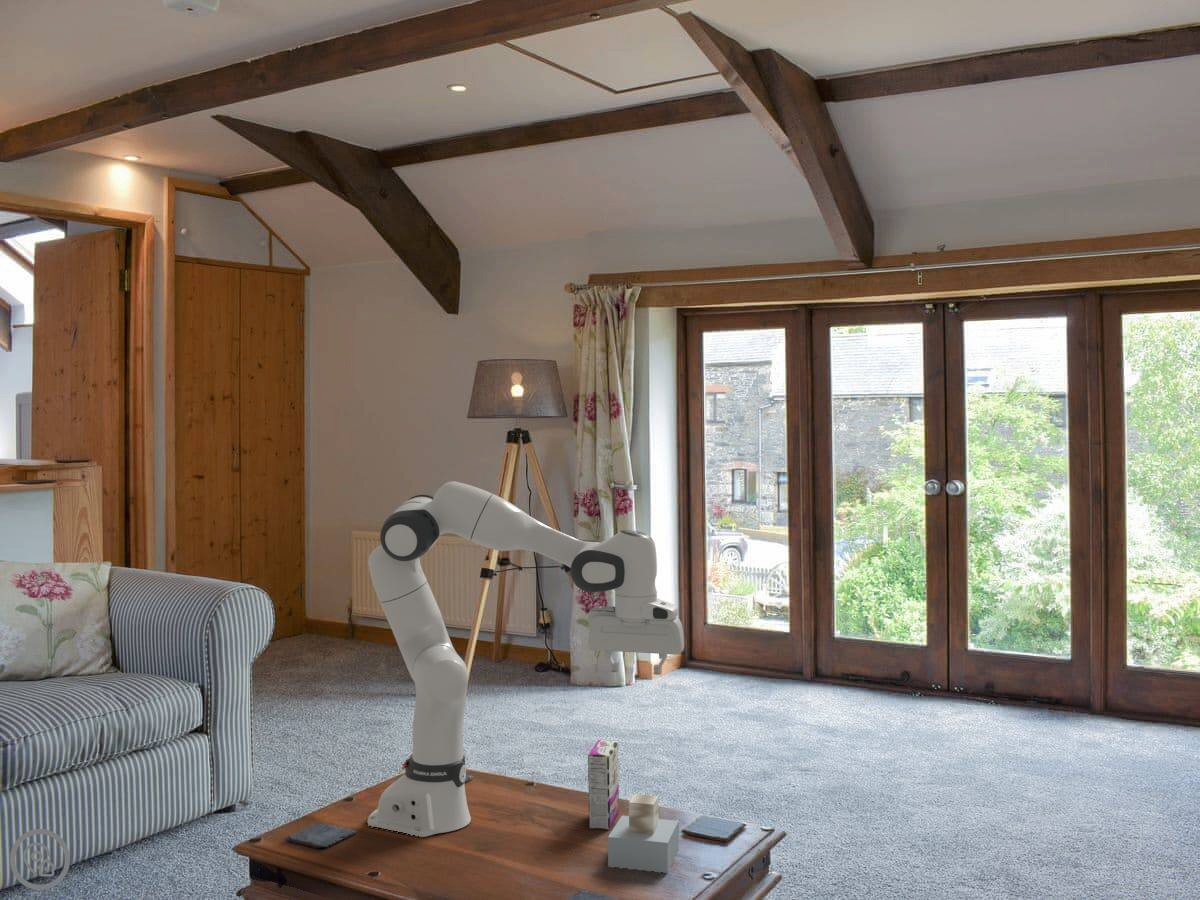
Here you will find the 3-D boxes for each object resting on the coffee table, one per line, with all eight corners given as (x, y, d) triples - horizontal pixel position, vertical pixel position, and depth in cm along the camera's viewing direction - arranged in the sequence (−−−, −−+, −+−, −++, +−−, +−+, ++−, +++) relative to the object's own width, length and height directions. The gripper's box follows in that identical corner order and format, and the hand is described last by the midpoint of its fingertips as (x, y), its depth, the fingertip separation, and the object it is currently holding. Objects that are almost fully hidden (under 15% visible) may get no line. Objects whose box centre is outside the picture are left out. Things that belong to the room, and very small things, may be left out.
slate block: (608, 866, 215) (608, 836, 215) (621, 843, 227) (622, 815, 227) (667, 873, 212) (667, 842, 212) (678, 849, 224) (678, 820, 224)
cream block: (629, 831, 218) (629, 802, 217) (634, 823, 222) (634, 793, 222) (653, 834, 216) (653, 804, 216) (658, 825, 221) (658, 796, 221)
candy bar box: (597, 810, 246) (597, 738, 246) (619, 812, 245) (619, 740, 245) (587, 828, 235) (587, 753, 235) (609, 830, 234) (609, 755, 234)
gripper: (584, 608, 228) (584, 673, 229) (680, 612, 223) (680, 679, 224) (591, 603, 234) (592, 666, 235) (685, 607, 229) (685, 672, 230)
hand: (635, 673), depth 229 cm, fingers open, 8 cm apart
